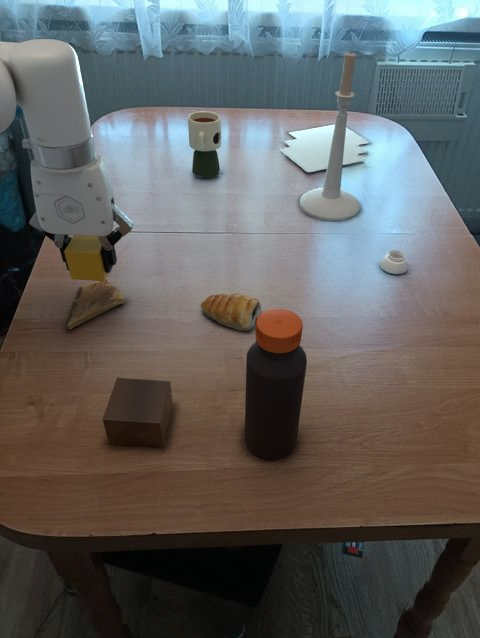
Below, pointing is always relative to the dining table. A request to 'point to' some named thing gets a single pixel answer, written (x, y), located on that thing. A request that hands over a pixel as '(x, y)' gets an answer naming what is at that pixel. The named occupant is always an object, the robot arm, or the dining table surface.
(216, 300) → the pastry
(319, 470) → the dining table surface
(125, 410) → the walnut block
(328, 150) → the paper stack
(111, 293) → the toasted sandwich
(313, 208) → the candlestick
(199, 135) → the character mug
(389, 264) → the white jar
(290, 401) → the bottle
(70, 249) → the mustard block
